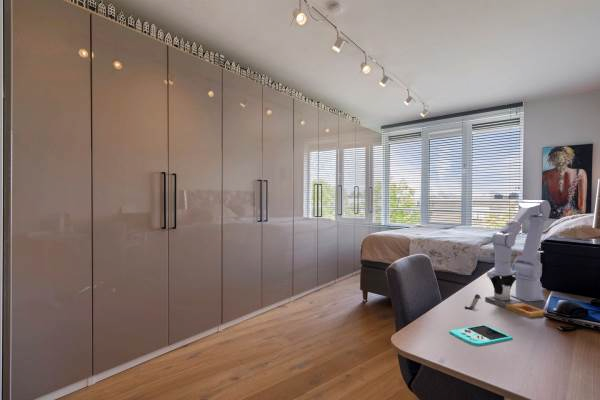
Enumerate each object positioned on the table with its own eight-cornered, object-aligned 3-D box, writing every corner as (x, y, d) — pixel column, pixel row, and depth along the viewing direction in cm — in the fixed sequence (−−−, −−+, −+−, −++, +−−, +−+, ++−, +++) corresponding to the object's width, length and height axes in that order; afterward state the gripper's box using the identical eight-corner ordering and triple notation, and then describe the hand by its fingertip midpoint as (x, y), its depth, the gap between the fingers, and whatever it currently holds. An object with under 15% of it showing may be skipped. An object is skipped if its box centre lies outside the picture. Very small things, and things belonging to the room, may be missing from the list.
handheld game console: (448, 333, 99) (448, 329, 99) (484, 327, 104) (484, 323, 104) (474, 348, 89) (474, 343, 89) (513, 340, 95) (513, 336, 95)
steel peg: (501, 297, 130) (501, 283, 130) (510, 300, 126) (510, 286, 126) (494, 297, 129) (494, 284, 129) (502, 301, 125) (503, 286, 125)
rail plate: (501, 298, 133) (501, 295, 133) (547, 315, 114) (547, 311, 114) (485, 300, 130) (485, 297, 130) (529, 317, 112) (529, 313, 112)
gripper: (507, 258, 133) (506, 289, 133) (481, 260, 129) (480, 291, 129) (522, 261, 126) (522, 294, 127) (495, 263, 122) (495, 297, 123)
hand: (502, 293), depth 128 cm, fingers closed on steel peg, 4 cm apart
